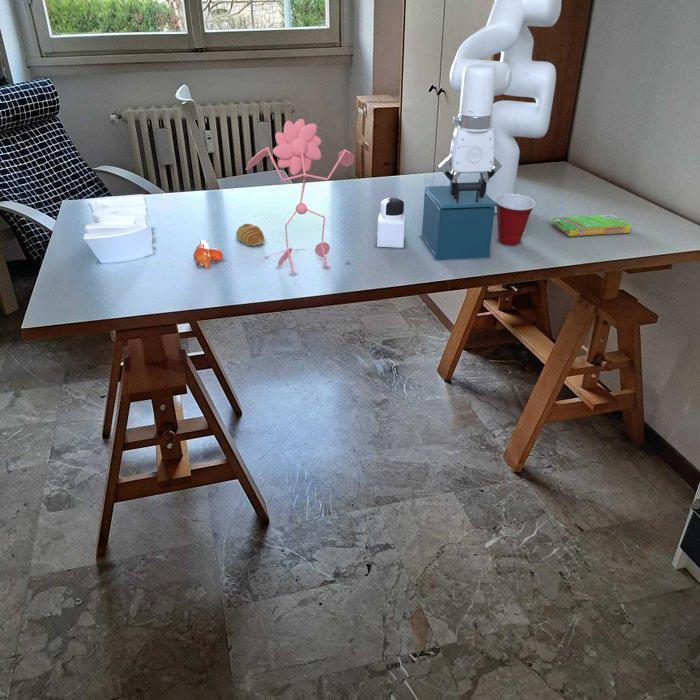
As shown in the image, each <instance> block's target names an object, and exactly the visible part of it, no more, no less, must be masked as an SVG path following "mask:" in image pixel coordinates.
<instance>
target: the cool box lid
mask: <svg viewBox="0 0 700 700" xmlns="http://www.w3.org/2000/svg"><path fill="white" fill-rule="evenodd" d="M457 183H458V194H457V199H453V198H452V196H451V195H450V193H449V191H450V185H431V186H425V187H424V191H425V190H426V191H427V192H428V194H429V195H430V196H431V197H432V198H433V199H434V201H435V202H436V203H437V204H438V205H439V206H440V208H441V209H442V208H470V207H496V206H497V203H496V202H494V201H493V200H492V199H491V198H490V197H489V196H488V195H486V194H484V197H483V198H480V197H479V191H480V190H481V183H480V182H477V181H475V182H474V181H473V182H472V181H471V182H457Z"/></svg>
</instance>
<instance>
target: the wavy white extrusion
mask: <svg viewBox="0 0 700 700" xmlns="http://www.w3.org/2000/svg"><path fill="white" fill-rule="evenodd" d="M87 204H88V206H89V209H90V211H91V216H92V218H93V221H94V223H87V224H86V225H85V227H84V229H85V231H86V233H84V234H83V240H84V242H85V243H86V244H87V246H88V247H89V248H90V250H91V251H92V253H93V254H94V256H95V257H96V259H98V261H99V262H100V263H101V264H112V263H121V262H128V261H134V260H138V259H141V258H145V257H148V256H151V255H153V254H154V249H153V231H152V226H151V220H150V215H149V209H148V203H147V198H146V196H145V195H144V193H143V194H142V193H141V194H140V193H139V194H127V195H116V196H115V195H113V196H102V197H95V198H88V199H87Z"/></svg>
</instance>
